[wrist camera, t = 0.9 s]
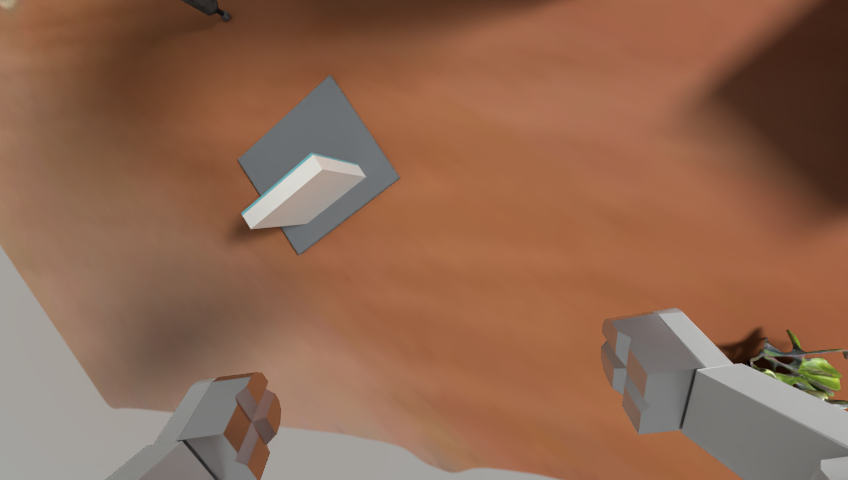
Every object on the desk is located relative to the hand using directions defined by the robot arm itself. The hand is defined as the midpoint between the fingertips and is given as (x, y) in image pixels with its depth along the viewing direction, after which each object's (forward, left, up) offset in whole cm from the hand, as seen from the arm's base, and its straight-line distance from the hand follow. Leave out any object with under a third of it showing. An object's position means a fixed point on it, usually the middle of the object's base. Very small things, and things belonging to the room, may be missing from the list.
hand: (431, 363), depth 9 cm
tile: (-4, -25, -41) cm, 49 cm away
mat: (-8, -28, -42) cm, 51 cm away
